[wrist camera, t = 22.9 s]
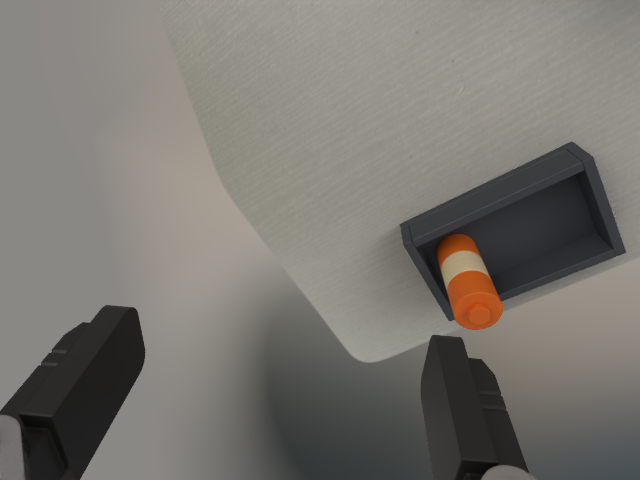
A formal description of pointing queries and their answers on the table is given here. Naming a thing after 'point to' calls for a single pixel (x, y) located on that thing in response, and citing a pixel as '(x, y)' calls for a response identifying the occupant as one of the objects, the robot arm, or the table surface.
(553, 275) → the bin
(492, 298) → the orange cylinder
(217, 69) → the table surface
